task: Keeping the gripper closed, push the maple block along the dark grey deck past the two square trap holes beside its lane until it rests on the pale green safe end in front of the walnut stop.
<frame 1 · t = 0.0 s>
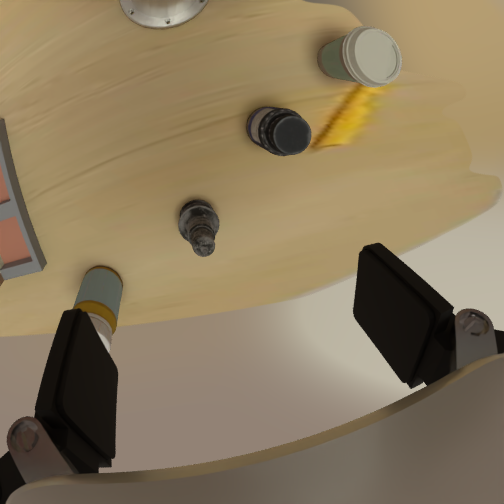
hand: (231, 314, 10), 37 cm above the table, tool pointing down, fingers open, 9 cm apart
pill bottle: (265, 126, 43), on the table
bottle: (103, 282, 48), on the table
salt shaker: (196, 215, 47), on the table
coffee cup: (333, 60, 40), on the table
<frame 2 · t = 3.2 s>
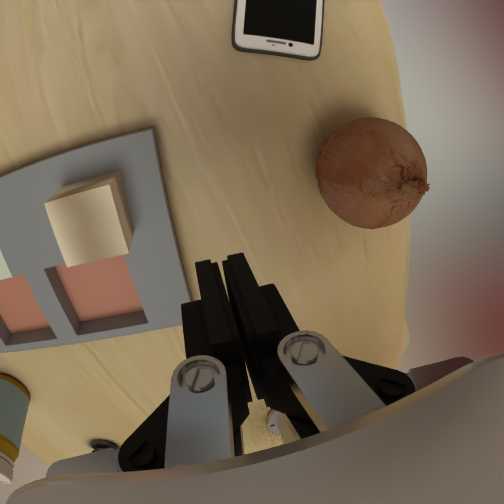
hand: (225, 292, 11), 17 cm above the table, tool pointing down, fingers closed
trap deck: (51, 255, 25), on the table
onion: (342, 160, 28), on the table
bottle: (10, 386, 31), on the table
salt shaker: (104, 445, 41), on the table
maple block: (97, 208, 22), point 2 cm above the table, touching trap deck
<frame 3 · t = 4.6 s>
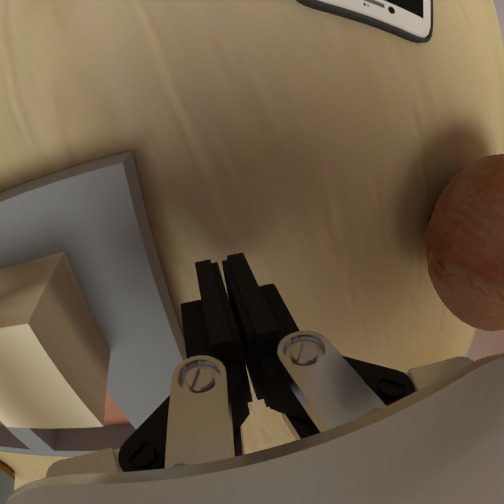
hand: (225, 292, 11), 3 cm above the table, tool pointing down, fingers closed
onion: (443, 207, 17), on the table
maple block: (39, 315, 10), point 2 cm above the table, touching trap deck
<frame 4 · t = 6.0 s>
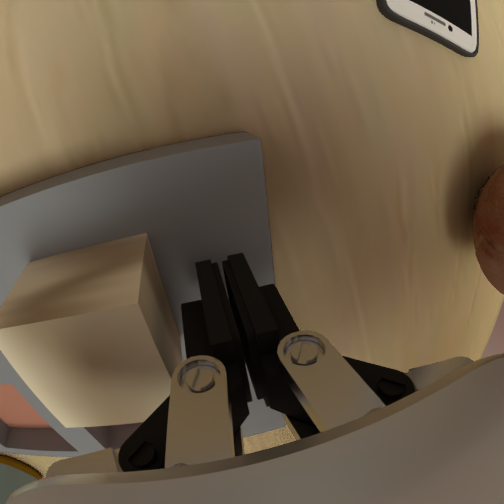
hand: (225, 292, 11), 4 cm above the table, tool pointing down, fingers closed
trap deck: (53, 349, 14), on the table
onion: (480, 198, 17), on the table
bottle: (17, 466, 21), on the table
maple block: (105, 303, 11), point 3 cm above the table, touching gripper
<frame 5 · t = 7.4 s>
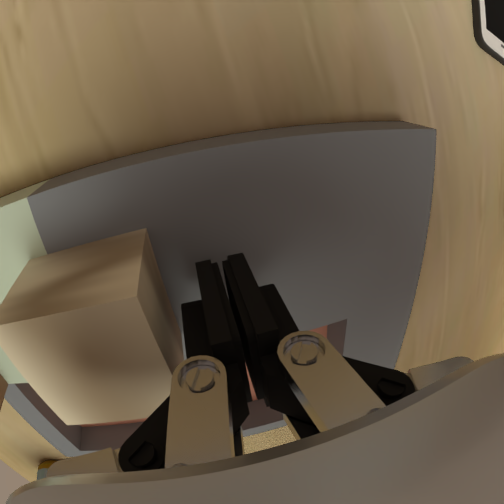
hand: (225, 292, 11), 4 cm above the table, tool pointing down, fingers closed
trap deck: (183, 326, 16), on the table
bottle: (68, 470, 22), on the table
maple block: (105, 300, 11), point 3 cm above the table, touching gripper
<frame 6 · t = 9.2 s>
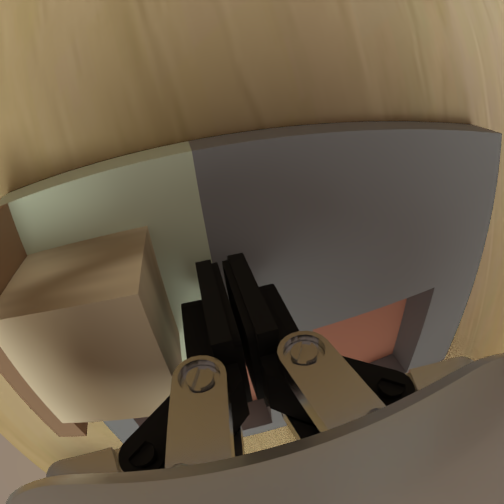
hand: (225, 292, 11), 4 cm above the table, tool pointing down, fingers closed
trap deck: (294, 299, 17), on the table
maple block: (103, 297, 11), point 2 cm above the table, touching gripper, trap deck
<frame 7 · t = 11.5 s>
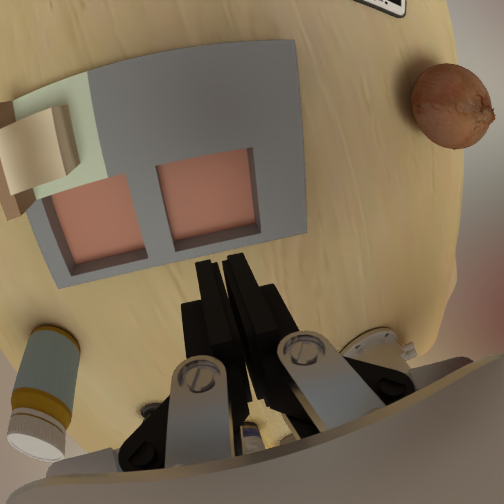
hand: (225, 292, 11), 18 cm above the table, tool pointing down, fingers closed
pill bottle: (240, 428, 50), on the table
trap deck: (156, 159, 25), on the table
onion: (420, 99, 28), on the table
bottle: (55, 342, 32), on the table
salt shaker: (157, 411, 42), on the table
maple block: (47, 143, 19), point 2 cm above the table, touching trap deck
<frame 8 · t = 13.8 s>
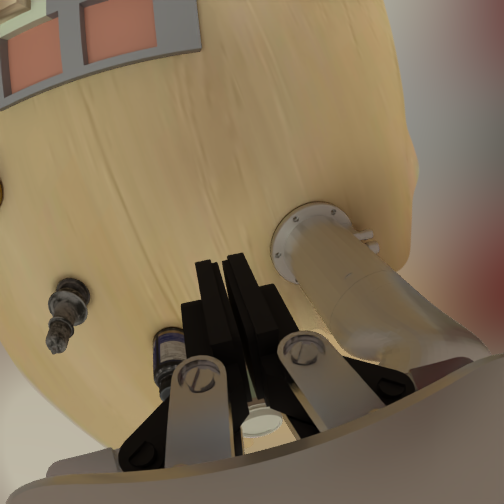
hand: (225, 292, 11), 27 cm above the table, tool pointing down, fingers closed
pill bottle: (172, 339, 46), on the table
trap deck: (84, 8, 22), on the table
salt shaker: (73, 293, 38), on the table
maple block: (13, 1, 16), point 2 cm above the table, touching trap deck
coffee cup: (243, 372, 54), on the table
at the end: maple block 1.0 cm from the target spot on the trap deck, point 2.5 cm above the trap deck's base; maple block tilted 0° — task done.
